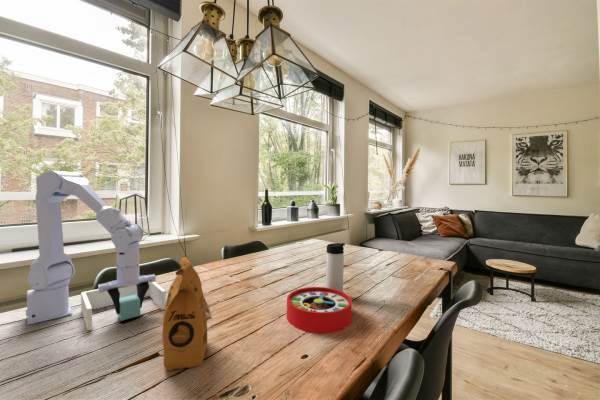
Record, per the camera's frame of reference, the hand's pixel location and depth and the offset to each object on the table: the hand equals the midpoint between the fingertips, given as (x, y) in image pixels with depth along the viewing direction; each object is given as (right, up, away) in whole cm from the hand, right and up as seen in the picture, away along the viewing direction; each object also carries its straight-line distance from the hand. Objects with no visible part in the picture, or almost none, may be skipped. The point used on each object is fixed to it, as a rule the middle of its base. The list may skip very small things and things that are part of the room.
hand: (128, 309), depth 82 cm
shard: (+18, -3, +3) cm, 18 cm away
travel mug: (+64, -3, +17) cm, 67 cm away
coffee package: (+25, -4, -18) cm, 31 cm away
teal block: (0, -2, 0) cm, 2 cm away
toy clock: (+58, -3, +2) cm, 58 cm away
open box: (-4, -2, +5) cm, 7 cm away
